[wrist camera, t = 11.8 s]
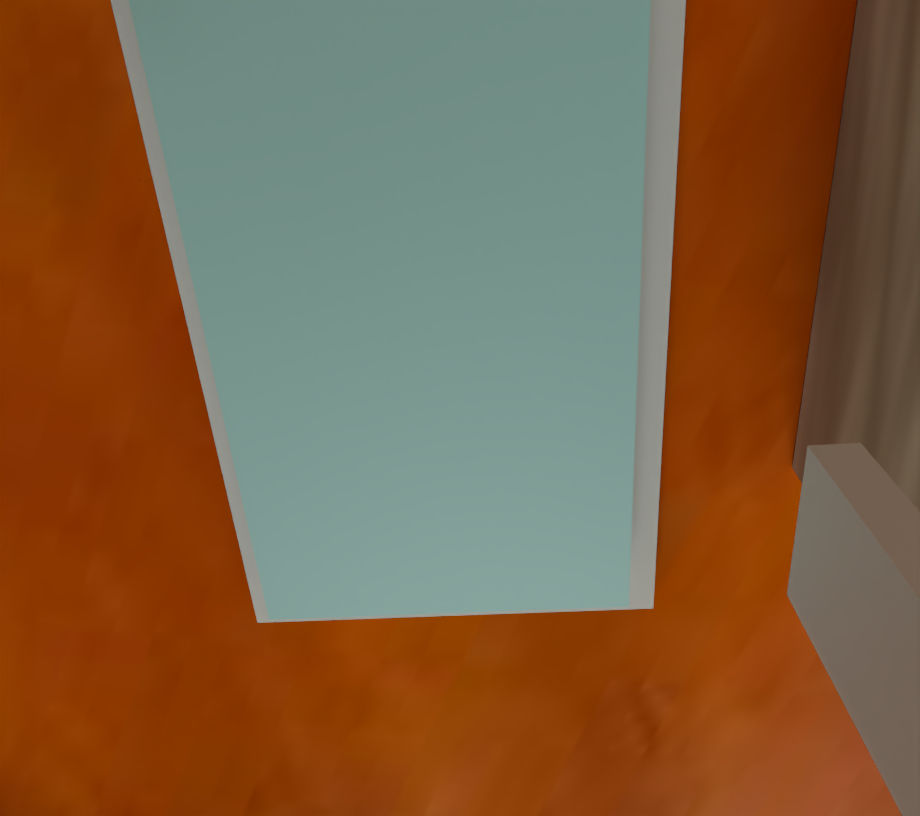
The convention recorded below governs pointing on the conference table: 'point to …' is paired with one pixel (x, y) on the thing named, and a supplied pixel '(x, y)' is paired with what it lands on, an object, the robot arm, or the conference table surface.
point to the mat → (652, 316)
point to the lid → (416, 287)
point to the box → (872, 258)
